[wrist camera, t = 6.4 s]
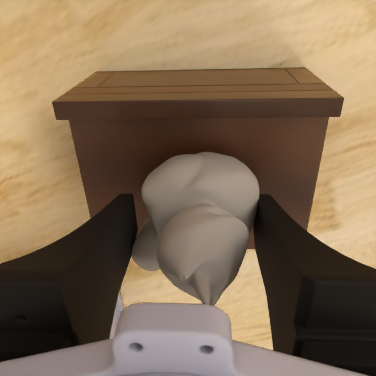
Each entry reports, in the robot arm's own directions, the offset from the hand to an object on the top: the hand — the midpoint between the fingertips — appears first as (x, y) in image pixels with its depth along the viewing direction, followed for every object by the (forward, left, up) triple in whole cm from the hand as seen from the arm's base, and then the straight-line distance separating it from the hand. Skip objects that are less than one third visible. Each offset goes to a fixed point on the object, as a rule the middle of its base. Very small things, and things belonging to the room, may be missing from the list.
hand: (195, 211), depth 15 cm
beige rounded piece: (0, 0, -2) cm, 2 cm away
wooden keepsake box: (0, 0, -7) cm, 7 cm away
